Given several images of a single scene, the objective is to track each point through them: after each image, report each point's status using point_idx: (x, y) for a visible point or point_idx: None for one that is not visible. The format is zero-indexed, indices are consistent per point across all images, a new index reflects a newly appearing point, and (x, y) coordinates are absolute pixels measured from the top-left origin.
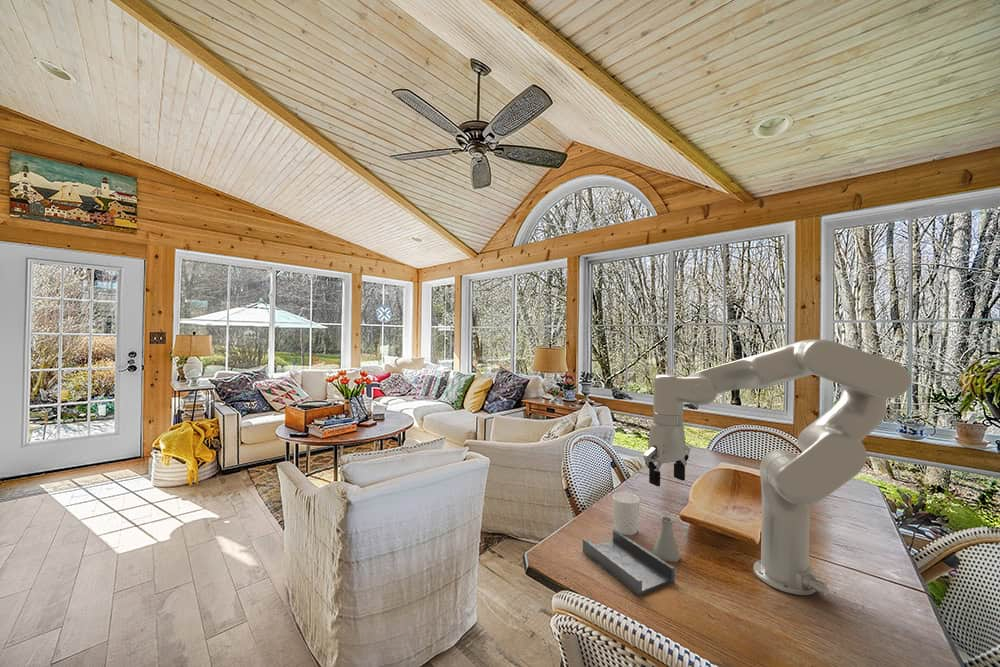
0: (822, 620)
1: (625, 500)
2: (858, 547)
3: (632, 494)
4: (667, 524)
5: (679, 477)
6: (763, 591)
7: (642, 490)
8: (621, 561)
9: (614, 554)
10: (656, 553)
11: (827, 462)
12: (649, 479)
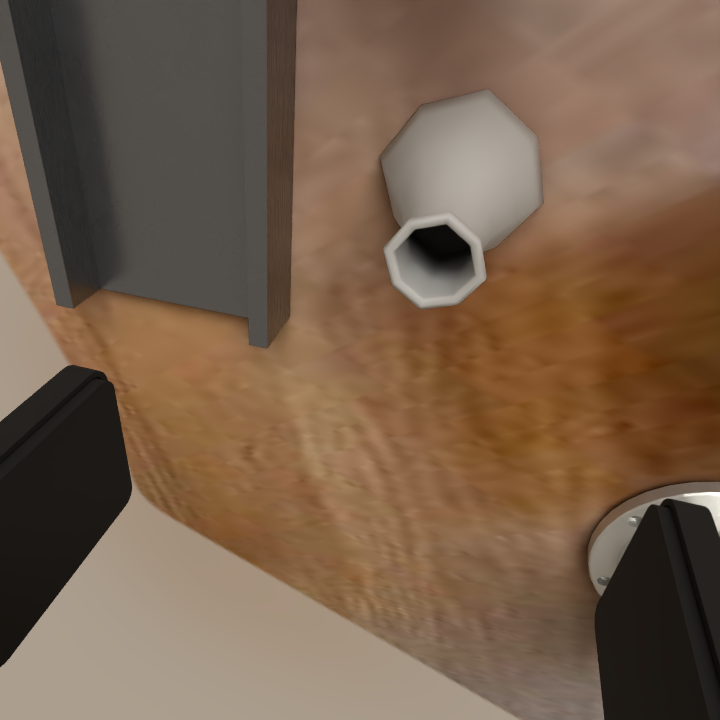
0: (519, 628)
1: None
2: None
3: None
4: (408, 273)
5: (615, 601)
6: (535, 522)
7: None
8: (146, 97)
9: (152, 17)
10: (383, 164)
11: None
12: (44, 391)
